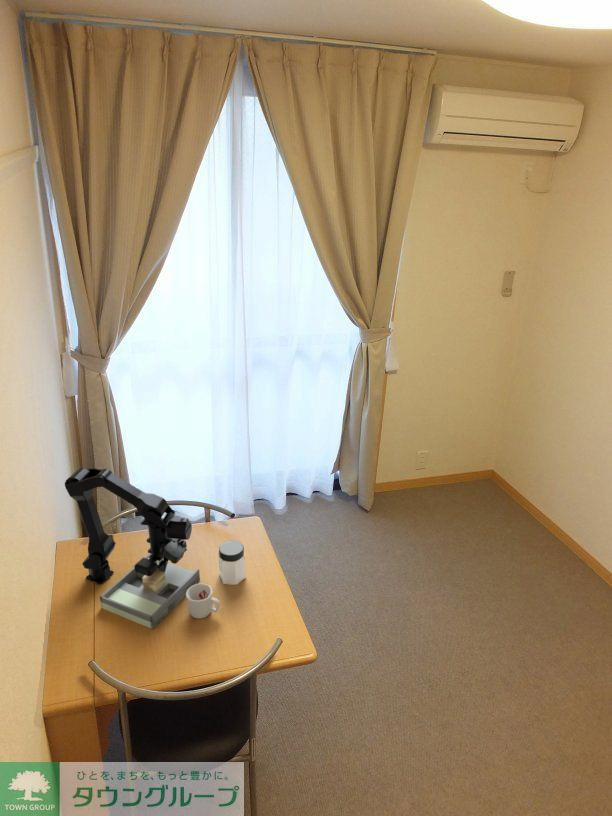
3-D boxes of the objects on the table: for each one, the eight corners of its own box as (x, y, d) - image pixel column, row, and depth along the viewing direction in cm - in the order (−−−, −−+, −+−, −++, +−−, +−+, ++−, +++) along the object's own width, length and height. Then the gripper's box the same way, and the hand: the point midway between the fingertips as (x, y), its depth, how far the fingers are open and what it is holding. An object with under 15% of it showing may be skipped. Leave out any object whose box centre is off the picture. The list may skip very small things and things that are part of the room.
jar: (217, 571, 186) (215, 542, 181) (240, 565, 189) (239, 537, 184) (224, 588, 179) (222, 558, 174) (247, 582, 181) (247, 552, 177)
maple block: (143, 587, 174) (142, 577, 173) (153, 577, 179) (152, 568, 177) (156, 592, 173) (155, 582, 171) (165, 582, 177) (164, 572, 175)
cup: (226, 609, 170) (225, 589, 167) (214, 627, 163) (212, 606, 160) (195, 600, 173) (194, 580, 170) (182, 618, 166) (180, 597, 163)
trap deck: (101, 608, 169) (99, 596, 167) (151, 562, 189) (150, 552, 188) (153, 629, 162) (151, 617, 160) (199, 579, 182) (199, 569, 180)
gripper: (160, 559, 162) (165, 600, 168) (196, 525, 178) (199, 564, 184) (130, 549, 166) (136, 589, 172) (168, 517, 182) (172, 555, 188)
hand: (162, 574), depth 179 cm, fingers closed
